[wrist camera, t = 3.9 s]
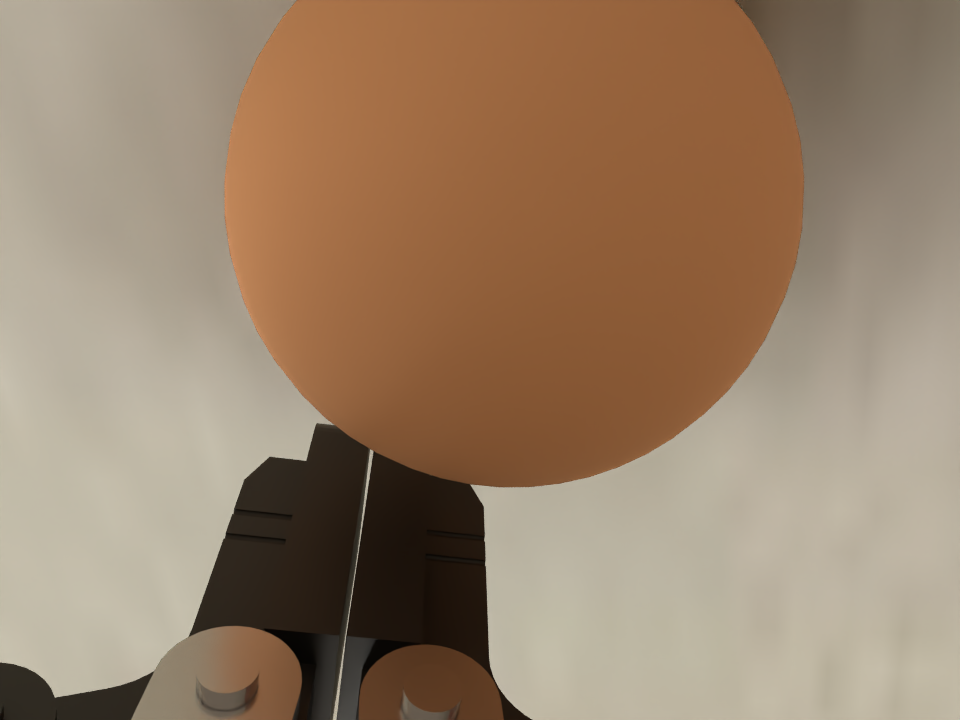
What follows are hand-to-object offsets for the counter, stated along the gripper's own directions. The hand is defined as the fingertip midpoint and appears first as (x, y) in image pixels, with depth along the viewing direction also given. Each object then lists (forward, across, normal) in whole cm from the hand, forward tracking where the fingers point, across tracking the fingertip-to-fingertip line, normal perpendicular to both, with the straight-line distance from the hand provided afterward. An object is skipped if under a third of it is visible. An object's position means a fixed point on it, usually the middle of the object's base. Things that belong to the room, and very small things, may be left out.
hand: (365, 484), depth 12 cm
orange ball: (-1, -1, -4) cm, 5 cm away
